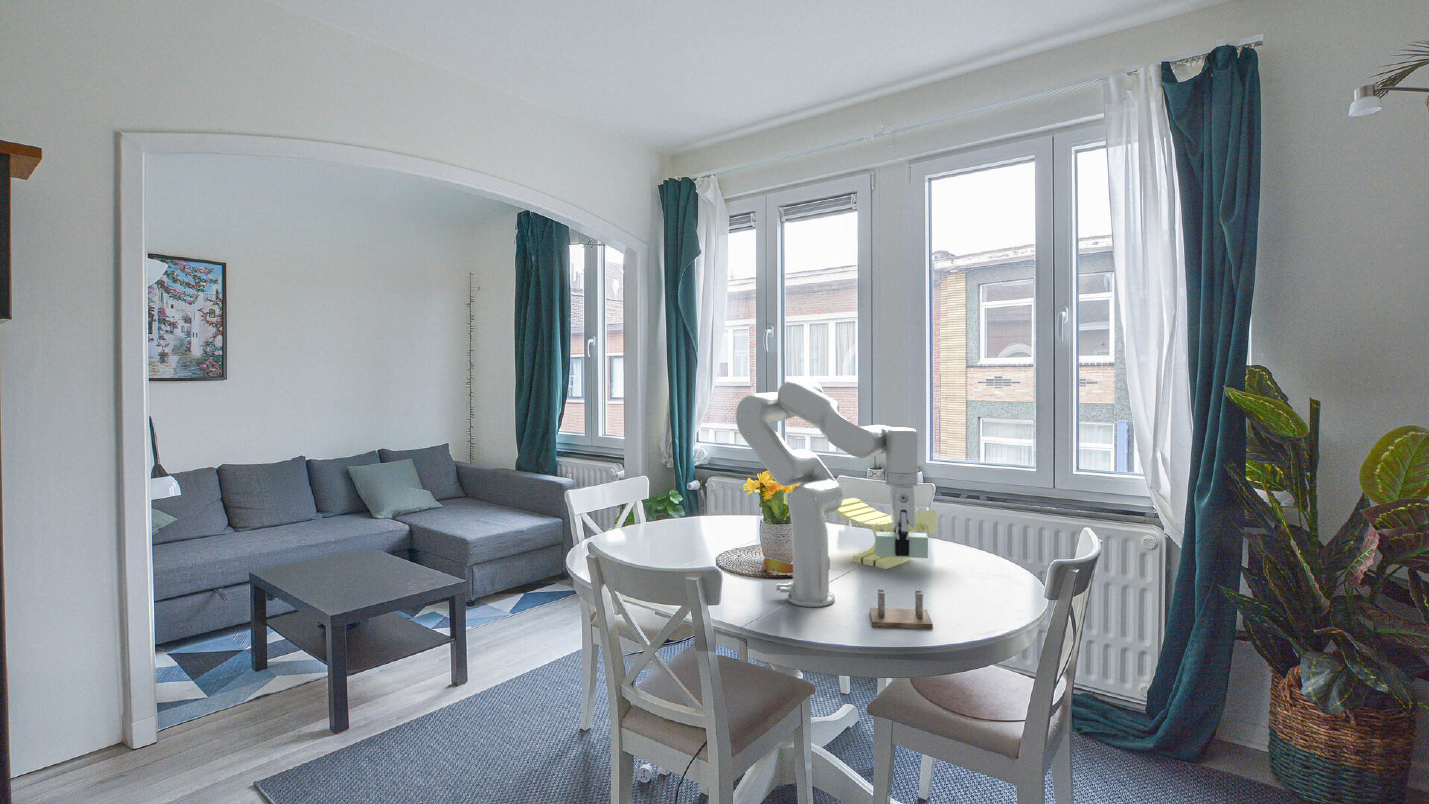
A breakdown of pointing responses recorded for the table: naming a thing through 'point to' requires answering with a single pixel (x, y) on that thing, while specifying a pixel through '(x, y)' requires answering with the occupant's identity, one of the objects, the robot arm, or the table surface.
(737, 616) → the table surface
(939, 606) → the table surface
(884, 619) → the peg stand
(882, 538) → the mint green rectangular block
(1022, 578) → the table surface
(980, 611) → the table surface
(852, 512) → the slatted curved stool
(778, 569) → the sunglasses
